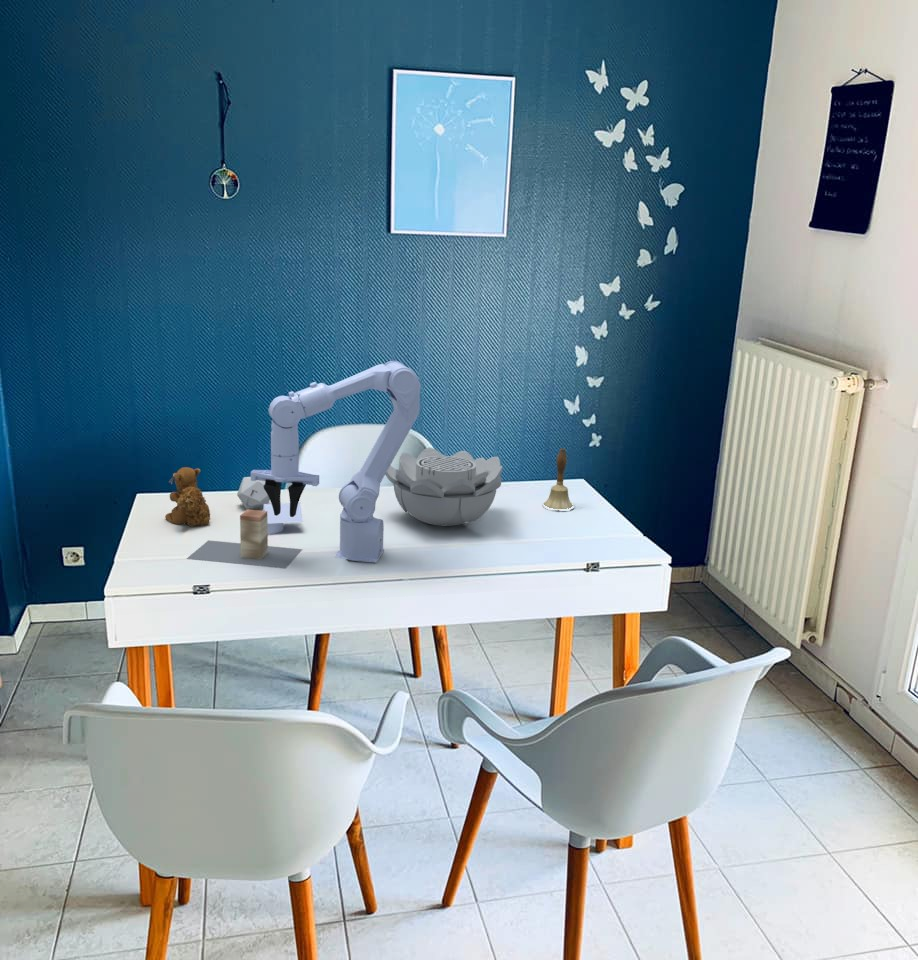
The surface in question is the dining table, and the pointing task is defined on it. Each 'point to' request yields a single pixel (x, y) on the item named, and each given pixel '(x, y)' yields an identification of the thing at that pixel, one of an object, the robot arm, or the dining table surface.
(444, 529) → the dining table surface
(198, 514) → the brown furry figure
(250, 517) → the maple block
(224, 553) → the rubber mat
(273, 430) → the robot arm
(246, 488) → the die
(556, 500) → the hand bell
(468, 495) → the decorative bowl
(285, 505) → the wedge on round base
